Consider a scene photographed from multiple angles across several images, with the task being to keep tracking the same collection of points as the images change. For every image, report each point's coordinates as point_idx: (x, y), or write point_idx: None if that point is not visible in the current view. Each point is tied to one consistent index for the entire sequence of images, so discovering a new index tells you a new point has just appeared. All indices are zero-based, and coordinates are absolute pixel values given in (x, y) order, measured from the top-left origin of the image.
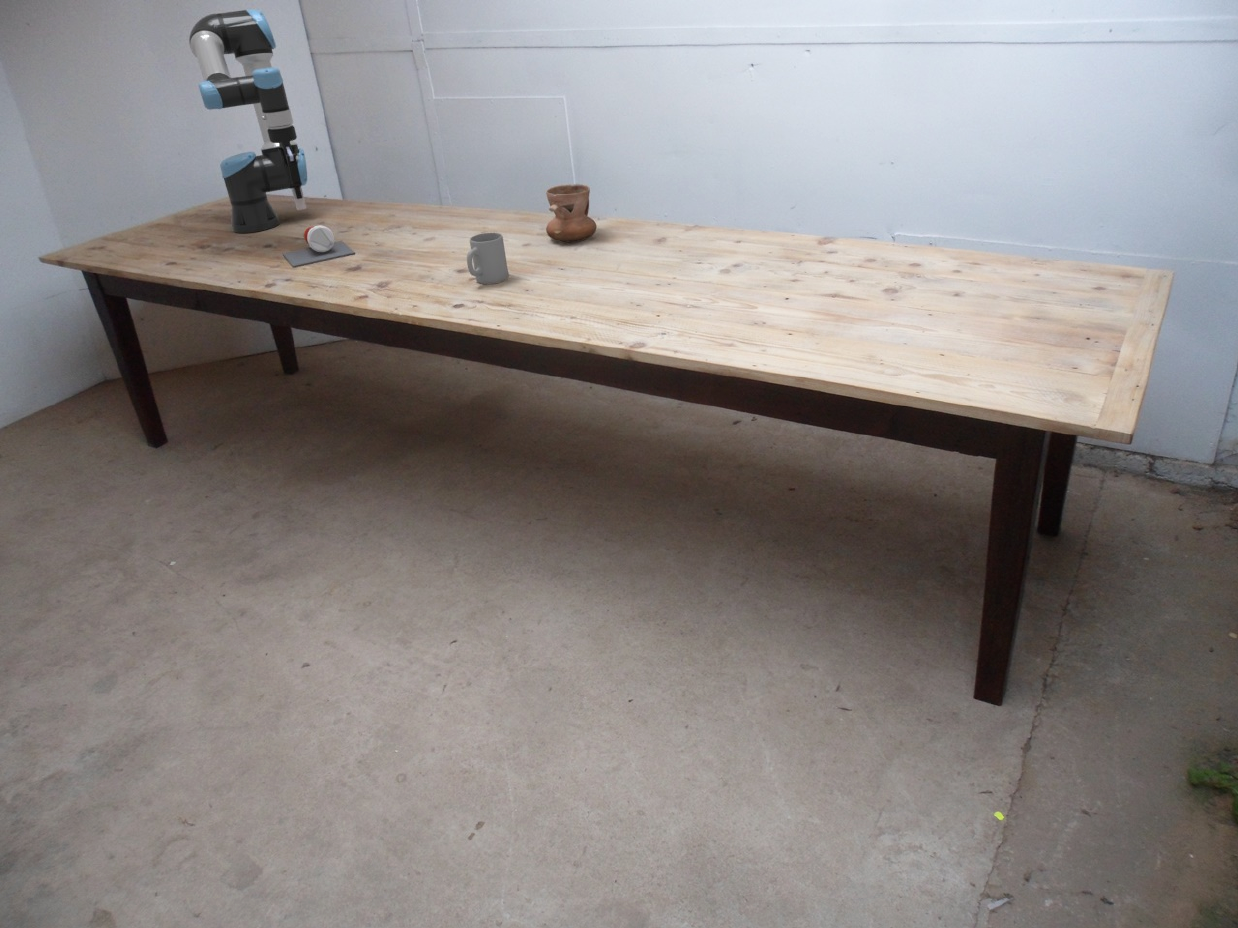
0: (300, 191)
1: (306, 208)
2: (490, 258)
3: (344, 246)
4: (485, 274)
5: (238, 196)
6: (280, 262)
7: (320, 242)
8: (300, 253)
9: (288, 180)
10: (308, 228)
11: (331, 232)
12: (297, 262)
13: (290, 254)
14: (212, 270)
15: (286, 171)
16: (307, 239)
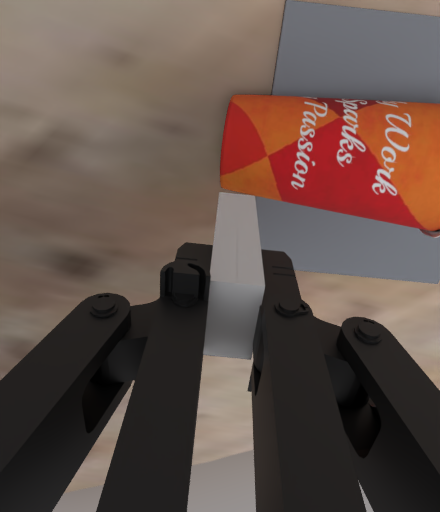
0: (297, 287)
1: (253, 197)
2: None
3: (402, 31)
4: None
5: None
6: (325, 290)
7: None
8: (310, 221)
9: (111, 391)
10: (281, 185)
11: None
12: (413, 262)
13: (286, 250)
14: (221, 416)
15: (58, 494)
16: (423, 233)
